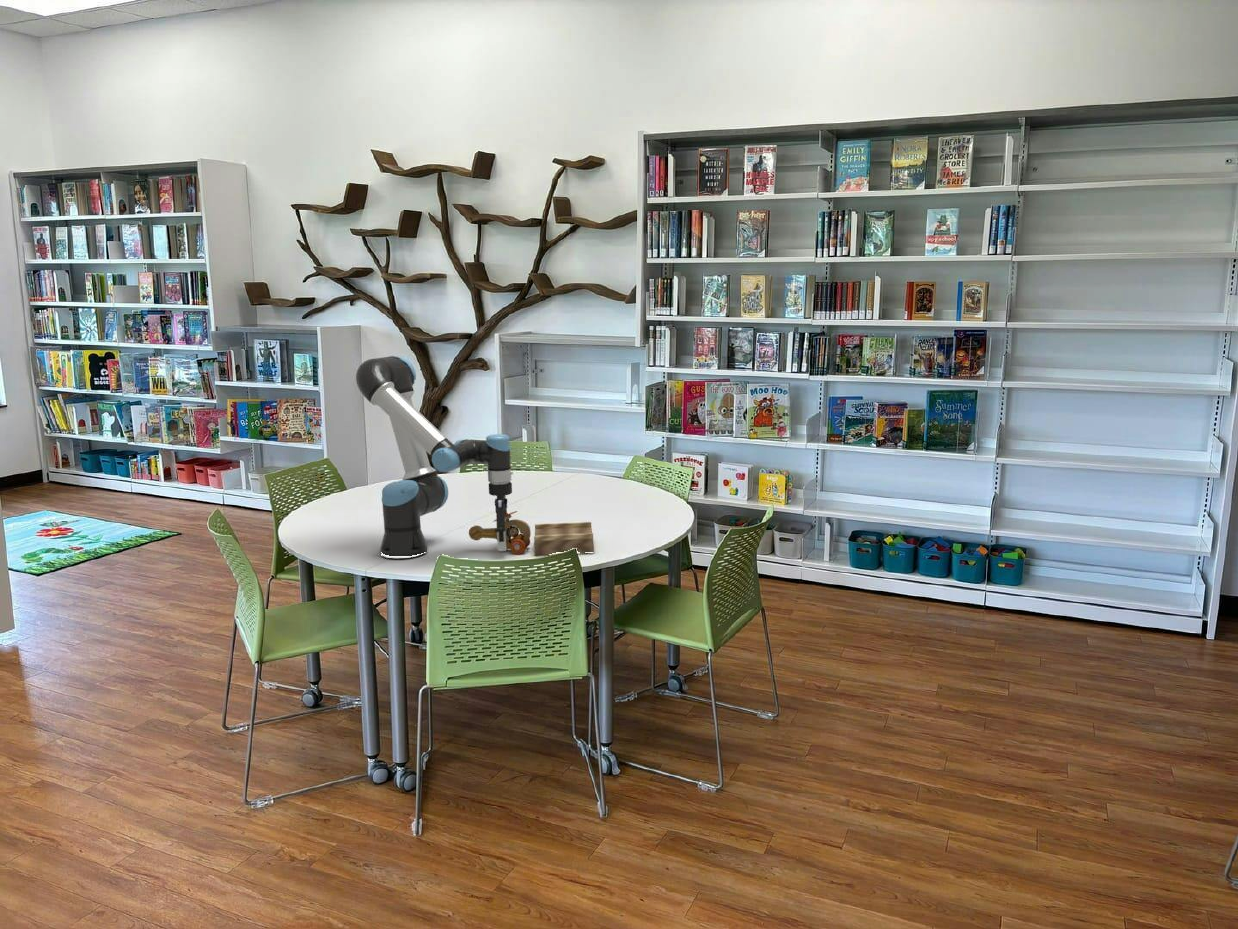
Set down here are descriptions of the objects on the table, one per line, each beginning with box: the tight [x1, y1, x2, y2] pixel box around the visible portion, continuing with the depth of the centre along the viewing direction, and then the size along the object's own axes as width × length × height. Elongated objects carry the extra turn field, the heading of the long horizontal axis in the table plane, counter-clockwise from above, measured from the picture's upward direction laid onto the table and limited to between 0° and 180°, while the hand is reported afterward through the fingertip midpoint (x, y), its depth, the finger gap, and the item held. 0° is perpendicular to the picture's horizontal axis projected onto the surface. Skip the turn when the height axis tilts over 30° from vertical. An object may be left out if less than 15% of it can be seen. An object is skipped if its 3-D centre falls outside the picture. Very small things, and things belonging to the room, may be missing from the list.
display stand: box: [533, 521, 595, 557], centre depth 310 cm, size 19×16×6 cm
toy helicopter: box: [468, 510, 532, 555], centre depth 308 cm, size 8×21×14 cm, turn 80°
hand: (503, 545), depth 309 cm, fingers open, 13 cm apart
